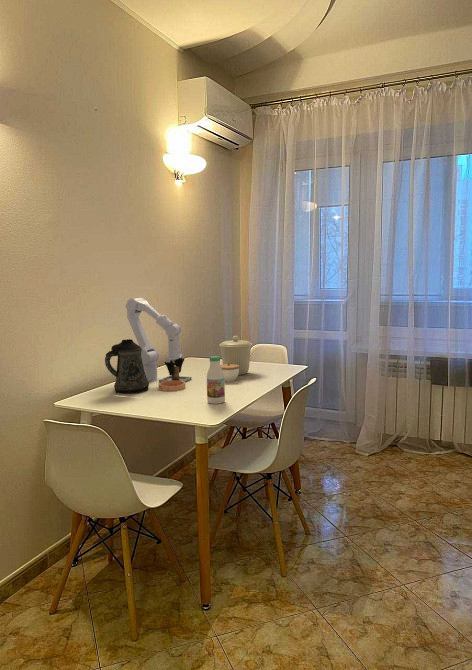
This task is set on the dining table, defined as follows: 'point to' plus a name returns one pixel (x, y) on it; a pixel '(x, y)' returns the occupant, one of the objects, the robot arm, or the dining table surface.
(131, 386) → the beer stein
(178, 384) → the terracotta bowl
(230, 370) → the lidded jar
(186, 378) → the slate tray
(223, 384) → the milk bottle
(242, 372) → the canister
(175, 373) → the walnut peg
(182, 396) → the dining table surface
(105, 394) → the dining table surface
